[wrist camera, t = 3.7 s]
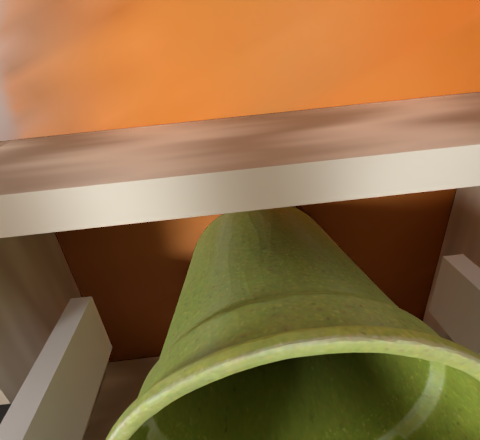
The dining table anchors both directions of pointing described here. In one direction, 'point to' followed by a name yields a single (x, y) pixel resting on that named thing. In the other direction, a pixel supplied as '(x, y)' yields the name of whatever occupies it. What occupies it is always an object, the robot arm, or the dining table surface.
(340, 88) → the dining table surface
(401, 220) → the dining table surface
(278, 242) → the plant pot
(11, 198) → the frame
